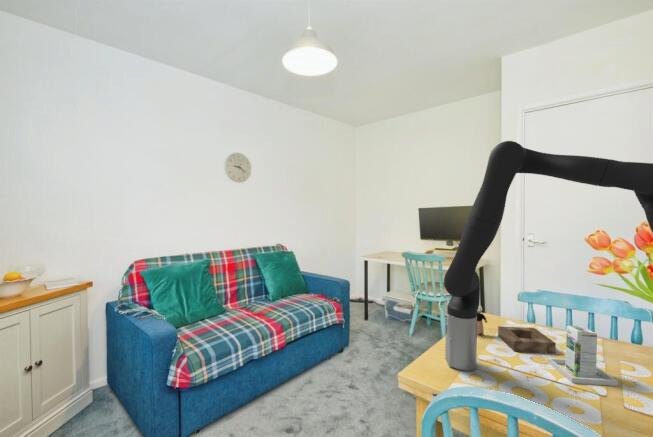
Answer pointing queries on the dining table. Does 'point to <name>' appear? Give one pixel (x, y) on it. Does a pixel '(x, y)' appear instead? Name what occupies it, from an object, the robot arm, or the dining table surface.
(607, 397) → the dining table surface
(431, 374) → the dining table surface
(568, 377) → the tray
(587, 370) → the syrup box
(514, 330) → the socket block
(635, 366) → the dining table surface
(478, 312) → the grandmother figurine
